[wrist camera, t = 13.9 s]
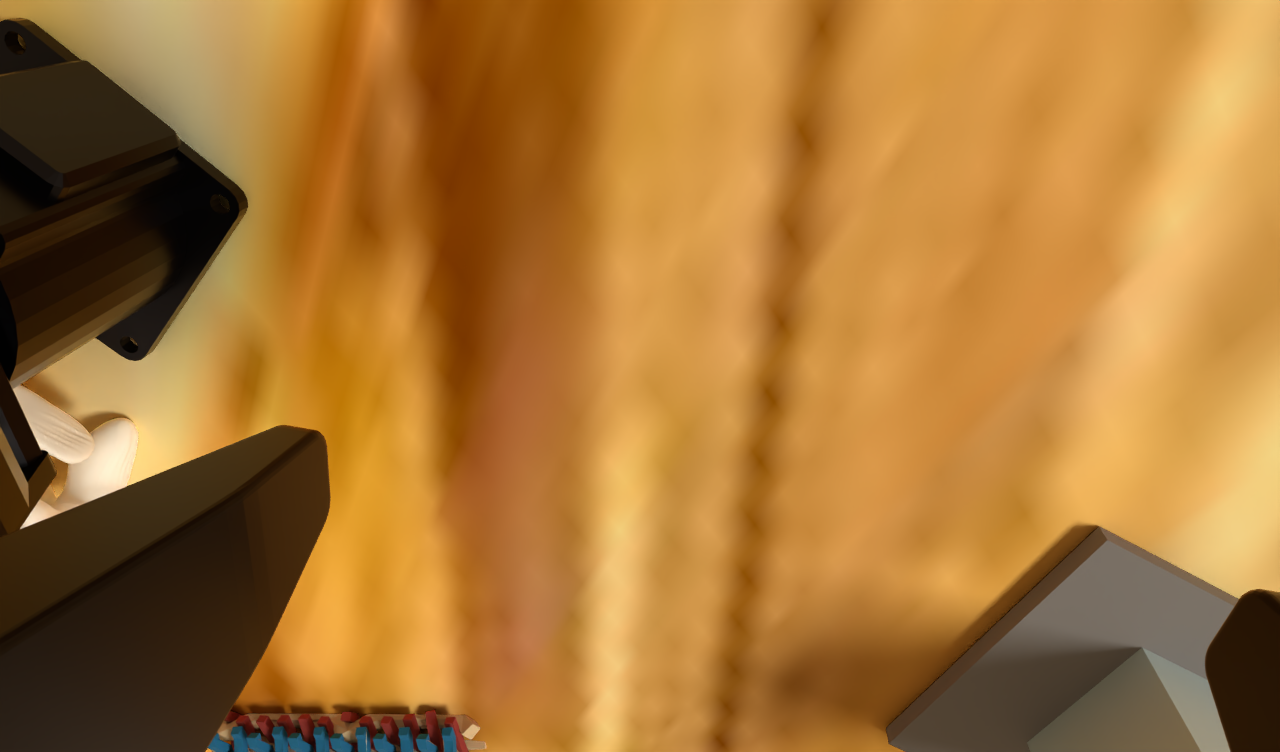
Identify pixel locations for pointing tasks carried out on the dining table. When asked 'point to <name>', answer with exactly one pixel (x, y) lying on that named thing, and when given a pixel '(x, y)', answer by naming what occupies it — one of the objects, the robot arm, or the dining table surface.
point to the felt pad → (1064, 647)
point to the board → (1139, 713)
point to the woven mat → (346, 733)
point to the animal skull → (78, 454)
